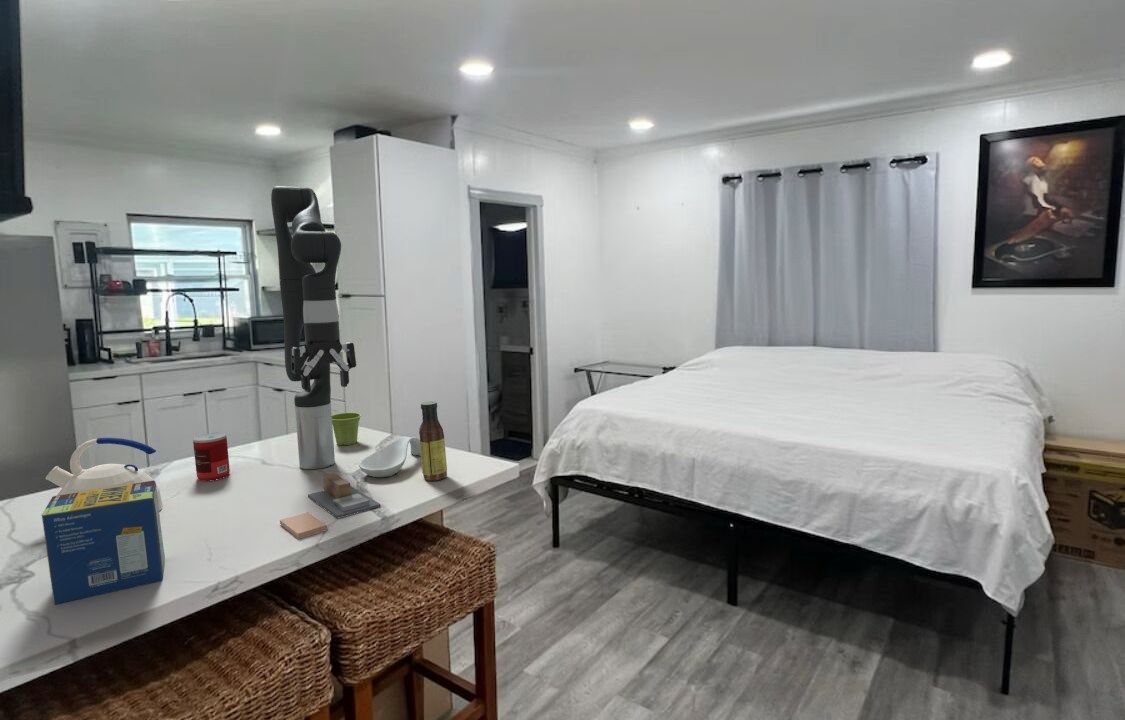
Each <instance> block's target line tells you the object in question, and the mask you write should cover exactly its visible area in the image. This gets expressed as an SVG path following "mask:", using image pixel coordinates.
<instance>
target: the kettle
mask: <svg viewBox="0 0 1125 720" xmlns="http://www.w3.org/2000/svg"><path fill="white" fill-rule="evenodd" d="M109 444H110V445H119V446H126V447H131V448H134V449H137V450H140V451H141V452H143V453H145V454H147V455H152V454H154V453H156V452H157V449H154V448H153V447H152V446H149V445H147V444H145V443H143V442H139V441H137V440H132V439H127V438H120V437H119V438H118V437H98V438H93V439H90V440H87V441H85V442H83V443H82V444H80V445H78V446H77V447H76V449H74V451H73V453H72V454H71V457H70V461H69V467H70V472H71V473H70V472H69V471H67V470H65V469H62V468H61V467H59V465H57V466H54V467H53V468H52V470H50V471H49V472H48V474H47V475H46V476H45V480H46V481H49V482H51V483H53V484H54V485H56V486H58V487H60V488H61V489H60V490H59V492H58V493H57V494H56V496H58V495H65V494H72V493H78V492H84V491H90V490H96V489H103V488H110V487H116V486H122V485H128V484H135V483H141V482H147V481H153V480H154V479H153V478H152V477H151V476H150V475H148V474H147V473H146V472H145V471H143V470H142V469H140V468H138V467H137V466H136V465H134V464H123V463H104V464H98V465H96V466H92V467H90V468H88V469H86V468H84V469H83V467H82V466H81V461H80V460H81V455H82V454H83V453H84V452H85V450H87V449H88V448H90V447H91V446H95V445H109ZM156 490H157V498H158V507H159V512H160V511H161V510H162V509H163V507H164V504H163V501H162V495H161V493H160V487H159V486H158V485H157V484H156Z"/></svg>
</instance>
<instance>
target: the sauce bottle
mask: <svg viewBox="0 0 1125 720" xmlns="http://www.w3.org/2000/svg"><path fill="white" fill-rule="evenodd" d="M420 409H421V413H422V416H421V417H422V422H421V425H420V426H419V431H418V433H419V440H420V449H421V456H420V458H421V460H420V461H421V469H422V471H421V472H422V474H423V475H422V476H423V479H424V480H425V481H430V482H436V481H437V482H438V481H441V480H444V479H445V478H447V476H448V472H447V471H448V464H447V454H446V442H445V441H446V440H445V434H444V433H445V432H444V428H443V427H442V425H441V423H440V421H439V419H438V418H439V416H438V402H437V401H432V400H431V401H424V402H421V403H420Z"/></svg>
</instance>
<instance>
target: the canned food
mask: <svg viewBox="0 0 1125 720" xmlns="http://www.w3.org/2000/svg"><path fill="white" fill-rule="evenodd" d="M192 441H193V442H192V444H193V446H192V447H193V453H194V455H193V456H194V462H195V463H194V464H195V471H196V473H195V474H196V478H197V479H198V481H199V482H200V481H201V482H211V481H210V480H214V481H217V480H216V479H219V480H221V479H220V478H222V479H224V478H223V477H225V478H227V477H228V476H229V475H230V472H231V469H230V468H231V467H230V458H229V448H228V447H229V446H228V438H227V433H225V432H209V433H204V434H200V435H196V436H194V437H193V439H192ZM226 476H227V477H226Z"/></svg>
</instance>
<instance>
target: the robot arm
mask: <svg viewBox="0 0 1125 720" xmlns="http://www.w3.org/2000/svg"><path fill="white" fill-rule="evenodd" d="M270 195H271V198H270V200H271V201H270V202H271V209H272V218H273V223H274V224H273V225H274V232H275V239H276V245H277V246H276V247H277V259H278V275H279V277H278V278H279V290H280V298H281V307H282V316H283V330H284V332H283V333H284V336H283V337H284V366H285V372H286V376H287V378H288V379H289V380H290V381H291V382H300V383H301V389H302V391H300V392H298V393H297V394H295V395H294V400H293V401H294V402H293V403H294V412H295V422H296V423H295V425H296V433H297V434H296V435H297V448H298V460H299V462H298V463H299V467H300V468H301V469H303V470H304V469H305V470H318V469H324V468H326V467H327V466H328V467H330V465H331V466H333V465H334V464H335V463H336V458H335V457H336V456H335V444H334V429H333V424H332V415H333V413H332V403H331V402H332V401H331V394H332V393H331V392H332V391H331V390H332V389H331V386H332V385H331V364H336V365H337V367H338V368H339V369H340V370H339V378H340V380H339V381H340V387H342V388H345V387H348V385H349V383H350V376H349V371H350V370H351V369H352V368H354V369H355V368H356V367H357V361H356V351H355V345H354V343H353V342H349V341H345V342H344V343H341V341H340V338H341V333H340V320H339V319H340V315H339V307H338V304H337V293H336V277H337V269H338V264H339V261H340V256H341V252H342V242H341V240H340V237H339V236H338V235H337V234H336V233H335V232H331V231H326V228H325V227H324V224H323V222H322V220H321V219H322V218H321V212H320V205H319V200H318V197H317V194H316V192H315V191H314V190H313V189H312V188H310V187H305V186H289V185H288V186H286V185H275V186H273V187H272V190H271V194H270ZM288 223H291V230H292V234H293V235H292V234H291V231H290V229H289V226H288ZM312 264H324V266H323V269H321V270H320V271H317V272H316V269H315V268H314V267H313V265H312ZM303 328H304V329H303ZM303 330H304V341H305V344H304V345H303V346H300V345H301V335H302V331H303ZM342 350H343V352H344V353H345V357H346V362H345V361H344V359H343V358H342V357H341V356H340V353H341V351H342ZM312 380H313V382H312V384H311V381H312ZM323 467H324V468H323ZM328 467H327V468H328Z"/></svg>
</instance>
